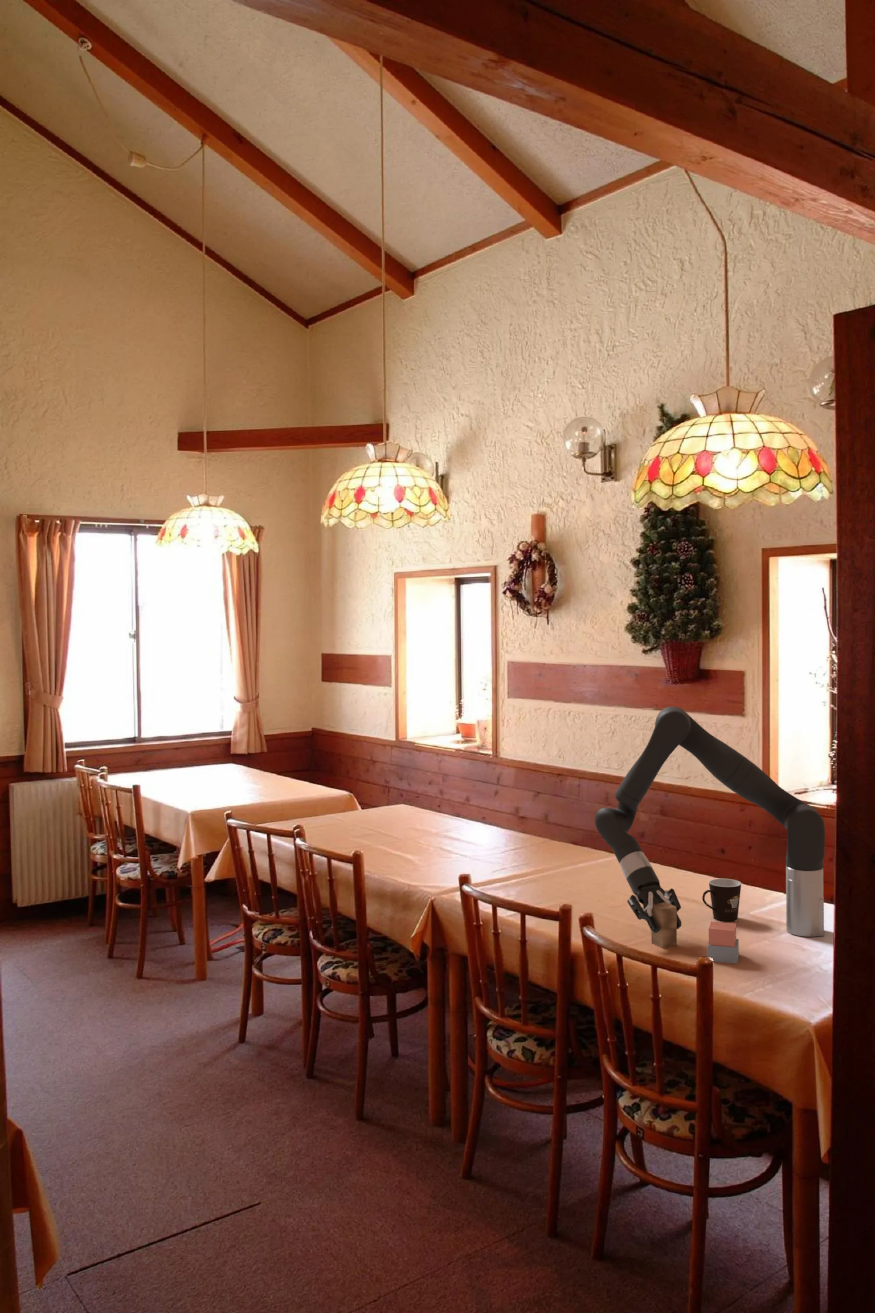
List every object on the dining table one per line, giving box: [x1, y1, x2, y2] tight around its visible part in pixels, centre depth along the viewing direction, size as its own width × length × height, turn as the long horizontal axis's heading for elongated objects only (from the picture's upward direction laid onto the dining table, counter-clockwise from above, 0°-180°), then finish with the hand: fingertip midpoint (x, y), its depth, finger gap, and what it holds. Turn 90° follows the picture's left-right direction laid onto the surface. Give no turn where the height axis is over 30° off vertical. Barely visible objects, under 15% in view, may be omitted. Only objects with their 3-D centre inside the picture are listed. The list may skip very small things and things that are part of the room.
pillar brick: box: [650, 903, 678, 949], centre depth 259 cm, size 4×4×10 cm
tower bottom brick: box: [706, 938, 740, 964], centre depth 248 cm, size 7×7×4 cm
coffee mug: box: [702, 878, 742, 923], centre depth 279 cm, size 12×9×10 cm
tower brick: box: [708, 920, 737, 947], centre depth 248 cm, size 6×6×4 cm
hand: (668, 929), depth 257 cm, fingers open, 6 cm apart
